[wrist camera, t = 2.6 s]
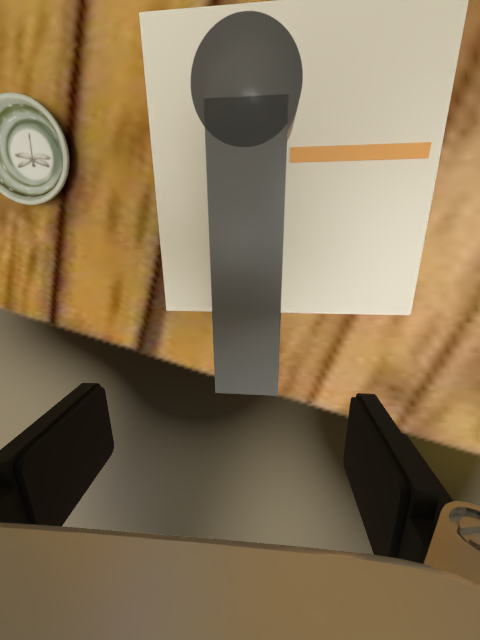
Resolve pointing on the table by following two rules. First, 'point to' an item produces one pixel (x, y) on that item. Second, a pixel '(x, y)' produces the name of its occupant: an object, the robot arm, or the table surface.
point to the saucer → (30, 151)
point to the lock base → (317, 148)
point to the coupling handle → (246, 188)
